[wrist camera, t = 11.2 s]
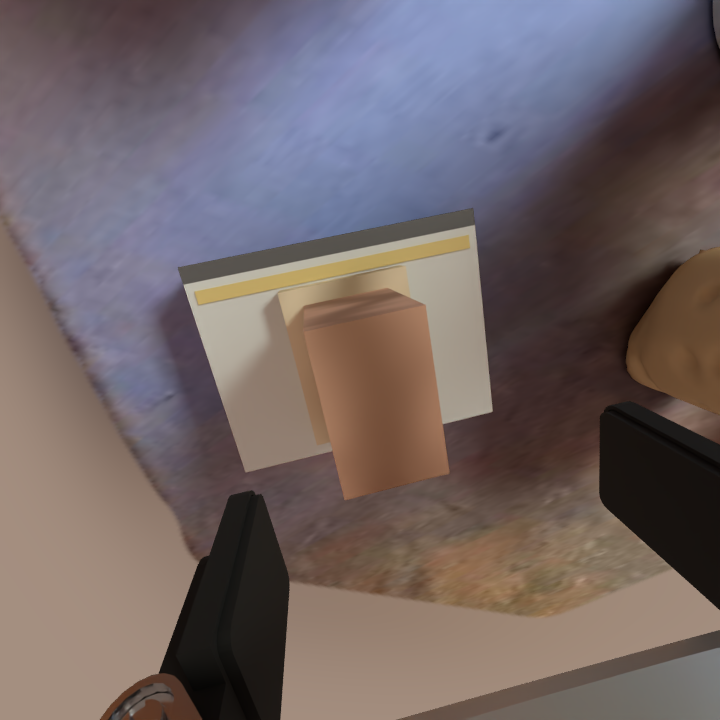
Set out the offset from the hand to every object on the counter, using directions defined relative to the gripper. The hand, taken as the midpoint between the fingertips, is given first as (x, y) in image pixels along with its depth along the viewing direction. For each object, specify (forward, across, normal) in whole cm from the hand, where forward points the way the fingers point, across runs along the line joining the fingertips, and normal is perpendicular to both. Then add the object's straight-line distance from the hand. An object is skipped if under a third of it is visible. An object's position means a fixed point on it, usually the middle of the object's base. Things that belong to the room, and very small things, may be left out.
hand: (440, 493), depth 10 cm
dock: (+20, +1, 0) cm, 20 cm away
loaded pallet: (+15, +1, 0) cm, 15 cm away
